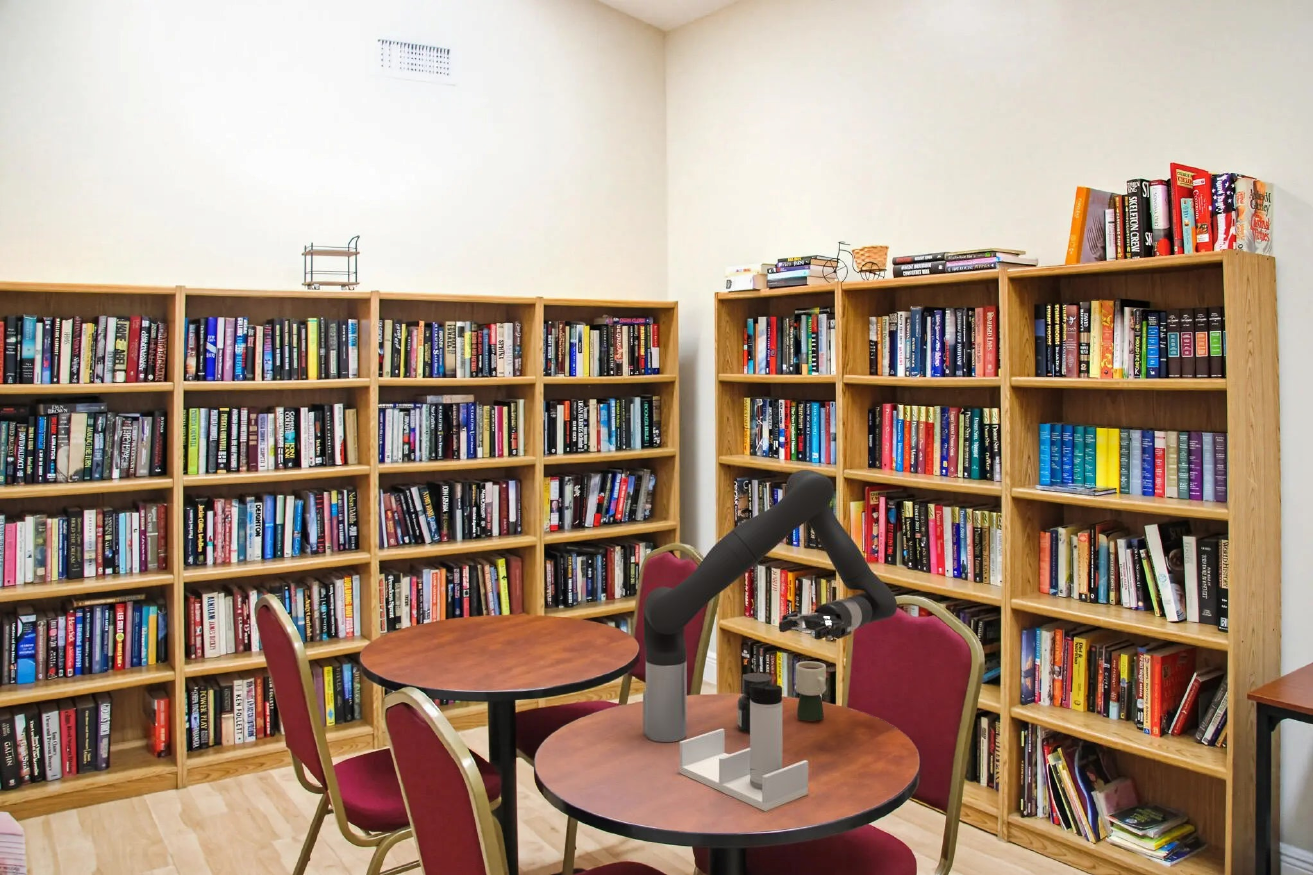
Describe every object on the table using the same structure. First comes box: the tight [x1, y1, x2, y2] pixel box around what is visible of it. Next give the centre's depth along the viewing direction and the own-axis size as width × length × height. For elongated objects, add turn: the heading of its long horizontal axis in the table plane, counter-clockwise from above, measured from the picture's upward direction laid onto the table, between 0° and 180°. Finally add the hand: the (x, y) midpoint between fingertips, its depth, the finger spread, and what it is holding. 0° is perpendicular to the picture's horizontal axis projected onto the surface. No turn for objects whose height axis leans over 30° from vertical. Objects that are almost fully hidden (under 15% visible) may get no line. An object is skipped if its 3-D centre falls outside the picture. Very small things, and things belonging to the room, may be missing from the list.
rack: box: [679, 728, 809, 812], centre depth 202 cm, size 24×12×6 cm, turn 41°
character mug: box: [795, 660, 827, 722], centre depth 240 cm, size 11×7×13 cm, turn 25°
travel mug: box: [749, 683, 783, 789], centre depth 198 cm, size 6×7×20 cm
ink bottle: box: [736, 672, 773, 734], centre depth 234 cm, size 10×9×12 cm
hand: (798, 630), depth 210 cm, fingers open, 8 cm apart
